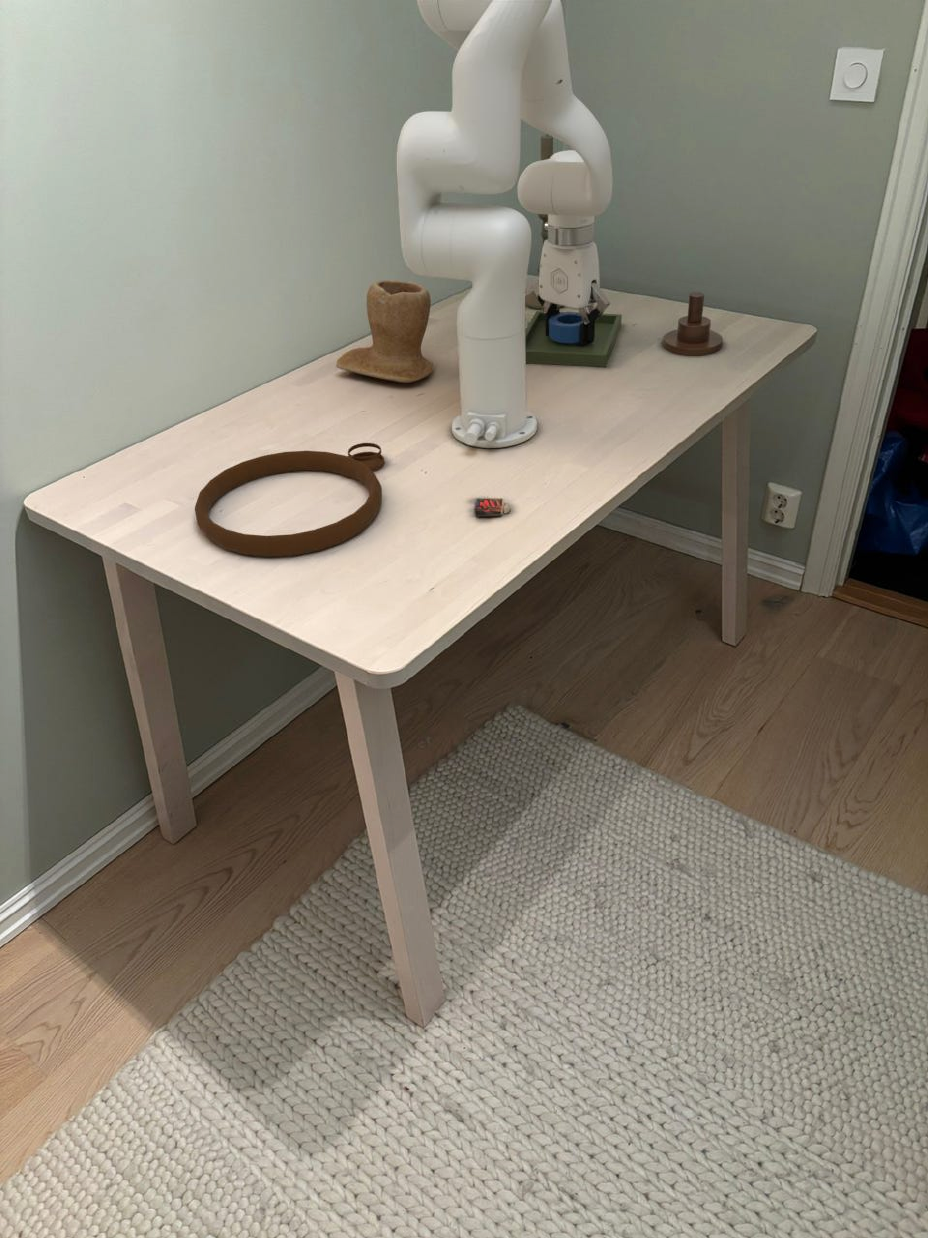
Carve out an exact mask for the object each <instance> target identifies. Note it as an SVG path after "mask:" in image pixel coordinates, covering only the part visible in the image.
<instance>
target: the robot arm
mask: <svg viewBox="0 0 928 1238" xmlns="http://www.w3.org/2000/svg"><path fill="white" fill-rule="evenodd" d="M416 3H417V6H418V11H419V13H420V15H421V17H422V19H423V21H424V22H425V24H426V25H427V26H428V28H429V29H430V30H431V31H432V32H434V34H436V35H437V36H438V37H439V38H441V39H442V40H443V41H445V42H446V43H447V44H448V45H450V46H451V47H452V48H453V49H455V50H456V51H458V52H457V54H456V56H455V59H454V62H453V66H452V69H451V71H452V72H451V82H452V83H451V84H452V85H451V86H452V88H451V90H452V91H451V93H452V95H451V96H452V98H451V99H452V101H451V102H452V106H451V110H450V111H439V110H438V111H437V110H434V111H433V110H430V111H429V110H428V111H422V112H421V111H420V112H417V113H414V114H413V115H411V116H410V117H409V118H407V120H406V121H405V122H404V124H403V126H402V128H401V130H400V133H399V137H398V142H397V146H396V147H397V148H396V180H397V198H398V199H397V200H398V214H399V215H398V217H399V233H400V245H401V252H402V256H403V260H404V262H405V264H406V266H407V268H408V269H409V270H410V271H411V272H412V273H414V274H415V275H418V276H421V277H427V278H428V277H429V278H435V279H450V280H461V281H465V282H470V283H471V284H472V285H471V289H470V290H469V292H468V293H467V294H466V295H465V297H464V298H462V300H461V302H460V303H459V306H458V308H457V311H456V321H455V322H456V336H457V337H456V339H457V354H458V372H459V391H460V392H459V395H460V410H461V411H460V414H458V415H457V416H456V417H455V418H454V419H453V420H452V422H451V433H452V436H453V437H454V438H455V439H456V440H457V441H459V442H461V443H462V444H465V445H467V446H471V447H477V448H485V449H499V448H508V447H512V446H516V445H519V444H522V443H525V442H526V441H528V440H530V439H531V438H532V437H533V436H534V435H535V434H536V432H537V430H538V420H537V418H536V417H535V416H534V414H532V413H531V412H530V411H528V410H527V363H526V349H525V330H526V305H525V296H526V289H527V277H528V271H529V263H530V256H531V250H532V229H531V226H530V223H529V220H528V219H527V218H526V217H525V215H524V214H522V213H521V212H520V211H518V210H516V209H514V208H512V207H507V206H504V205H498V204H497V205H496V204H482V203H456V202H455V203H454V202H442V194H443V193H444V194H459V195H460V194H461V195H462V194H463V195H500V194H503V193H506V192H508V191H510V190H511V189H512V188H513V187H514V186H515V185H516V183H517V191H516V192H517V198H518V201H519V204H520V205H521V207H522V208H523V209H524V210H525V211H527V212H530V213H531V214H537V215H538V214H548V222H546V223H545V226H544V228H545V230H548V239H547V240H545V241H544V245H543V244H542V249H541V250H542V251H541V256H540V264H539V266H540V274H539V273H538V280H537V281H535V282H534V283H533V284H532V286H531V287H532V291H534V292H535V294H536V295H537V296H538V301H539V302H540V304H541V306H542V310H541V311H543V313H545V334H546V336H549V319H550V318H551V316H553V315H556V314H558V313H560V312H561V310H560V308H557V307H558V305H561V306H564V308H569V309H573V310H578V312H579V313H580V315H581V317H582V320H583V323H581V324H580V346H583V347H584V346H586V345H588V344H590V343H592V342H593V341H594V336H595V320H597V319H598V317H599V316H601V315H602V314H604V313H605V311H606V310H607V308H609V307H610V305H611V302H610V300H609V299H608V297H607V296H606V294H605V293H604V292H603V290H602V289H601V286H600V285H601V284H600V283H601V282H600V281H601V280H600V277H601V276H600V262H599V253H598V248H597V243H595V242H594V241H595V239H594V238H595V217H598V216H600V215H601V214H604V213H605V211H606V210H607V209H608V207H609V205H610V204H611V201H612V197H613V189H614V188H613V184H614V182H613V180H614V179H613V178H614V177H613V167H612V157H611V149H610V144H609V139H608V137H607V135H606V132H605V130H604V129H603V127H602V125H601V124H600V123H599V121H598V119H597V118H596V116H594V115H593V113H592V112H591V111H590V109H589V108H588V107H587V106H586V105H585V104H584V103H583V102H582V101H581V100H580V99H579V98H577V96H576V95H575V94H574V91H573V85H572V75H571V70H570V69H571V68H570V60H569V53H568V52H569V51H568V43H567V35H566V34H567V33H566V27H565V26H566V25H565V19H564V18H565V17H564V12H563V11H564V10H563V5H562V2H561V0H416ZM522 121H523V122H524V123H526V124H527V125H529V126H531V127H532V128H535V129H537V130H538V131H541V132H542V133H544V134H546V135H547V134H548V135H550V136H552V137H553V138H555V139H556V140H558V141H561V142H563V143H564V144H565V145H567V146H569V147H570V148H571V149H569V150H561V151H558V152H554V153H553V155H552V156H551V157H550V159H547V160H542V161H541V160H538V161H534V162H532V163H530V164H529V165H527V166H526V167H525V168H524V169H523V171H522V173H521V175H520V174H519V173H520V165H521V149H522V148H521V147H522V146H521V143H522V142H521V139H522V138H521V137H522V133H521V132H522ZM519 175H520V176H519ZM518 178H519V179H518ZM517 181H518V182H517ZM595 303H596V305H595ZM588 313H589V314H588Z"/></svg>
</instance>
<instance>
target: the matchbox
mask: <svg viewBox="0 0 928 1238" xmlns="http://www.w3.org/2000/svg"><path fill="white" fill-rule="evenodd" d="M504 501H505V497H489V496H487V497H477V498H476V497H475V499H474V508H473V511H474V514H475V516H477V517H498V516H502V515H503V514H508V513H510V512H511V507H510V505H509V504H508V503H506V504H505V502H504Z"/></svg>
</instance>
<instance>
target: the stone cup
mask: <svg viewBox="0 0 928 1238" xmlns="http://www.w3.org/2000/svg"><path fill="white" fill-rule="evenodd" d="M430 294H431V293H430V291H429V290H428V289H427V287H425V286H424V285H422V284H419V283H417V282H412V281H411V282H410V281H406V280H397V279H393V280H390V279H380V280H376V281H374V282H372V283H371V285H370V286H369V288H368V290H367V293H366V311H367V313H366V314H367V319H368V320H367V321H368V324H369V325H368V326H369V329H370V333H371V339H372V345H371V346H370V347H369V346H368V347H367V346H366V347H357V348H353V349H350V350H348V351H346V352H344V353H343V354H341V356H340V357H339V358H338V359H337V360H336V365H335V368H337V369H340V370H343V371H347V372H350V373H354V374H358V375H362V376H365V377H370V378H375V379H379V380H385V381H391V382H396V383H406V384H407V383H414V382H418V381H419V380H422V379H424V378H425V377H428V376H429V375H430V374H431V373H432V371H433V370H434V367H435V365H434V363H433V362H432V361H430V360H428V359H427V358H425V357H424V356H423V354H422V344H423V339H424V338H425V337H424V336H425V334H426V331H427V327H428V324H429V319H430V312H431V305H432V304H431V303H432V299H431V295H430Z"/></svg>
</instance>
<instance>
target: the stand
mask: <svg viewBox="0 0 928 1238" xmlns="http://www.w3.org/2000/svg"><path fill="white" fill-rule="evenodd" d="M704 301H705V293H703V292H700V291H699V292H698V291H695V292H694V291H693V292H690V293H689V296H688V307H687V315H686V316H685V315H684V316H682V317H680V318H679V319H678V323H677V328H676V329H672V330H671V331H668V332H666V333H665V334H664V335H663V338H662V346H663V348H664V349H665V350H667V351H668V352H670V353H672V354H676V355H682V356H688V357H689V356H690V357H697V356H698V357H699V356H707V355H712V354H714V353H717V352H719V351H721V350H722V348H723V343H724V337H723V336H722V335H721V334H720V333H718V332H716V331H714V330H711V325H712V324H711V323H712V320H711V319H710V318H709V317H707V316H703V312H704V303H705V302H704Z"/></svg>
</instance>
